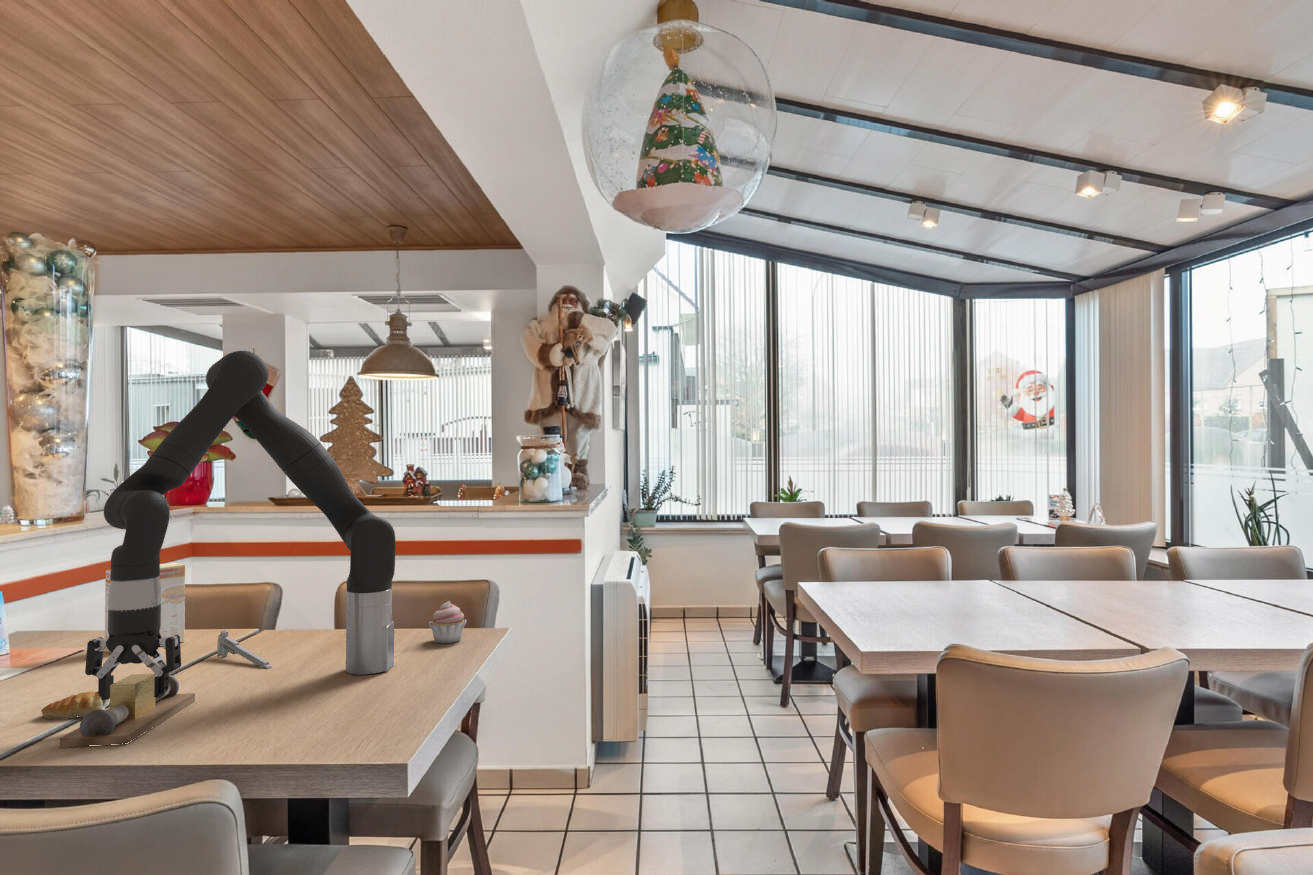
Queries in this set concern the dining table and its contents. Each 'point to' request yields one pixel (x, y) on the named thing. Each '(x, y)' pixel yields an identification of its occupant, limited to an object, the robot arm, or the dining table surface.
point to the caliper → (238, 650)
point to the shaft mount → (117, 730)
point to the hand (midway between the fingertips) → (133, 697)
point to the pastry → (75, 706)
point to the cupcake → (447, 624)
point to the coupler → (134, 694)
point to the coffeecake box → (164, 600)
